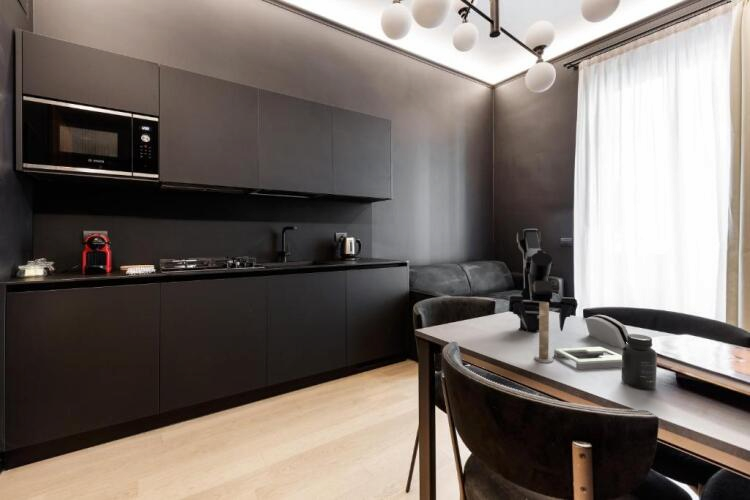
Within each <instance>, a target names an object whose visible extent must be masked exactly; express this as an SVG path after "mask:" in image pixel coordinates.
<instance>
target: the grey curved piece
mask: <svg viewBox="0 0 750 500" xmlns="http://www.w3.org/2000/svg"><path fill="white" fill-rule="evenodd" d="M585 323H586V327H587V331H588V335H589V336H591V337H593V338H595V339H598V340H600V341H602V342H605V343H607V344H608V345H611V346H613V347H616V348H618V349H621V350H622V348H623V347H624V346H625V345H626V342H627V336H628V335H629V332H628V330H627V327H626V325H624V324H623V323H621V322H620V321H618V320H617V319H615V318H612V317H611V316H610V317H609V316H607V315H604V314H603V315H602V314H596V315H591V316H589V317H587V318H585Z"/></svg>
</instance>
